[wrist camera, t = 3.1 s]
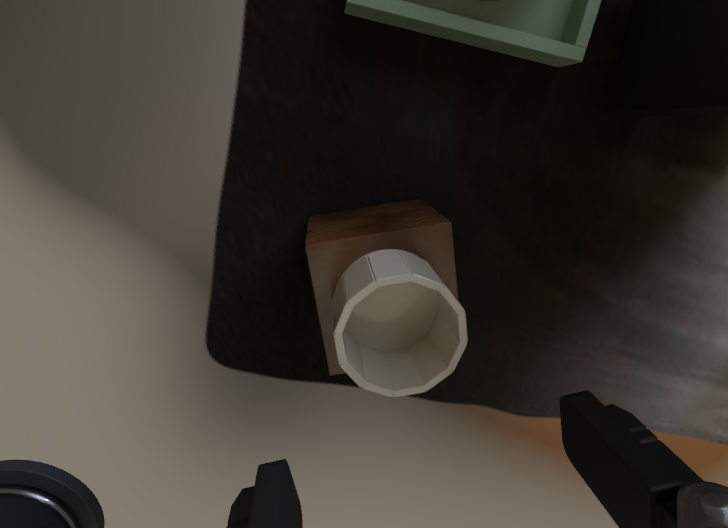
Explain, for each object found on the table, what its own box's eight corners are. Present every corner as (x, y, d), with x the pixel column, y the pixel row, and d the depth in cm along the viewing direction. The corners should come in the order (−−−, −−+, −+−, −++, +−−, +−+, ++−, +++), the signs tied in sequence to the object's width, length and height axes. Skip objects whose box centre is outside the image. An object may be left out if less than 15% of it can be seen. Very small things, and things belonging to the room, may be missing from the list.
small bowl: (342, 360, 26) (346, 406, 22) (323, 258, 24) (324, 288, 20) (447, 341, 26) (471, 384, 22) (437, 240, 24) (461, 264, 20)
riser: (327, 319, 34) (329, 376, 26) (308, 216, 31) (304, 245, 24) (431, 302, 34) (463, 352, 27) (420, 198, 32) (452, 221, 24)
